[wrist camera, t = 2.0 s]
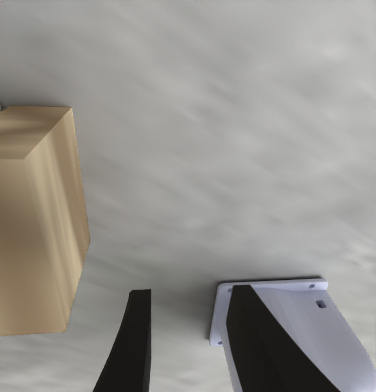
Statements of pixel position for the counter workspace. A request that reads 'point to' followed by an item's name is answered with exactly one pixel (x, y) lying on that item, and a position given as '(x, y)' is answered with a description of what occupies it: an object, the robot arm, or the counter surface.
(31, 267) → the maple tile
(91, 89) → the counter surface
